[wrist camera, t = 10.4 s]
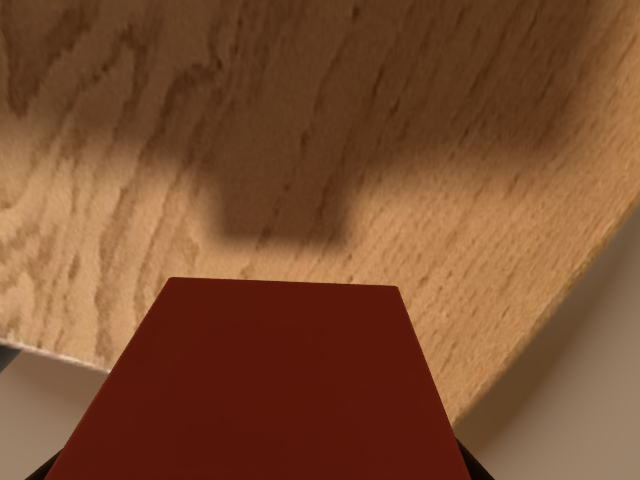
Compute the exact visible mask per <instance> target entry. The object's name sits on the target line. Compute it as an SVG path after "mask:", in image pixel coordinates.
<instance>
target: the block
mask: <svg viewBox="0 0 640 480" xmlns="http://www.w3.org/2000/svg"><path fill="white" fill-rule="evenodd" d="M44 480H471V478H470V475H469V472H468V470H467V467H466V465H465V462H464V459H463V457H462V454H461V451H460V449H459V446H458V444H457V441H456V438H455V436H454V433H453V430H452V428H451V425H450V423H449V420H448V417H447V415H446V412H445V410H444V407H443V404H442V402H441V399H440V396H439V394H438V391H437V389H436V386H435V383H434V381H433V378H432V376H431V373H430V370H429V368H428V365H427V362H426V360H425V357H424V355H423V352H422V349H421V347H420V344H419V342H418V339H417V336H416V334H415V331H414V328H413V326H412V323H411V321H410V318H409V315H408V313H407V310H406V308H405V305H404V302H403V300H402V297H401V294H400V292H399V289H398V287H396V286H386V285H361V284H336V283H311V282H286V281H261V280H235V279H210V278H185V277H171V278H169V279H168V281H167V282H166V284H165V285H164V287H163V289H162V290H161V292H160V293H159V295H158V297H157V298H156V300H155V301H154V303H153V305H152V306H151V308H150V309H149V311H148V313H147V314H146V316H145V318H144V319H143V321H142V322H141V324H140V326H139V327H138V329H137V330H136V332H135V334H134V335H133V337H132V338H131V340H130V342H129V343H128V345H127V346H126V348H125V350H124V351H123V353H122V355H121V356H120V358H119V359H118V361H117V363H116V364H115V366H114V367H113V369H112V371H111V372H110V374H109V375H108V377H107V379H106V380H105V382H104V384H103V385H102V387H101V388H100V390H99V392H98V393H97V395H96V396H95V398H94V400H93V401H92V403H91V404H90V406H89V408H88V409H87V411H86V413H85V414H84V416H83V417H82V419H81V421H80V422H79V424H78V425H77V427H76V429H75V430H74V432H73V433H72V435H71V437H70V438H69V440H68V441H67V443H66V445H65V446H64V448H63V449H62V451H61V453H60V454H59V456H58V457H57V459H56V461H55V462H54V464H53V466H52V467H51V469H50V470H49V472H48V474H47V475H46V477H45V478H44Z"/></svg>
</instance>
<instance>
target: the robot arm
mask: <svg viewBox="0 0 640 480" xmlns="http://www.w3.org/2000/svg"><path fill="white" fill-rule="evenodd" d="M455 438H456V437H455ZM456 441H457V444H458V446H459V449H460V451H461V454H462V457H463V459H464V462H465V465H466V467H467V470H468V472H469V475H470V478H471V480H495V479H494V478H493V477H492V476H491V475H490V474H489V473H488V472H487V471H486V469H485V468H483V466H482V465H481V464H480V463H479V462H478V461H477V460H476V459H475V458H474V456H473V455H472V454H471V453H470V452H469V451H468V450H467V449H466V448H465V447H464V446H463V445H462V443H460V441H459V440H458V439H457V438H456ZM61 451H62V450H60V451H59V452H58V453H57V454H56V455H54V456H53V457H52V458H51V459H49V460H48V461H47V462H46V463H44V464H43V465H42V466H41V467H40V468H38V469H37V470H36V471H35V472H34V473H32V474H31V475H30V476H29V477H27V478H26V479H25V480H44V478H45V477H46V475H47V474H48V472H49V470H50V469H51V467H52V466H53V464H54V462H55V461H56V459H57V457H58V456H59V454H60V453H61Z"/></svg>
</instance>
